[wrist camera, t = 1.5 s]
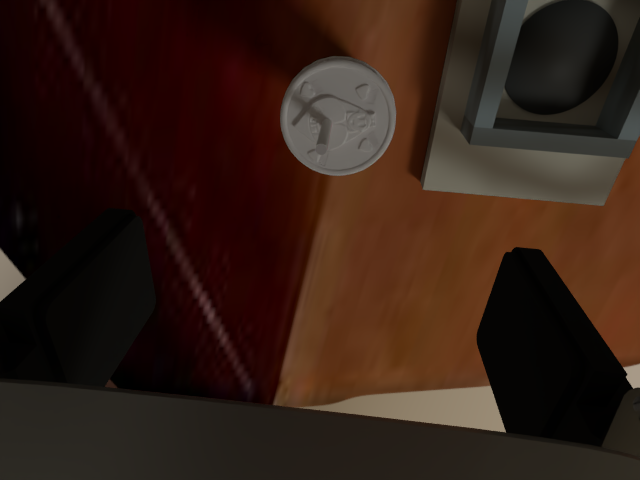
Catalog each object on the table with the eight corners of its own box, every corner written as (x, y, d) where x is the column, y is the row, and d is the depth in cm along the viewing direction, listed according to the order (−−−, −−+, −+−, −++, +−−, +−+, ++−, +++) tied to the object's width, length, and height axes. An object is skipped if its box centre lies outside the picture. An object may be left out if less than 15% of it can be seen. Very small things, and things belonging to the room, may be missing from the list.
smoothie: (294, 42, 30) (251, 81, 18) (385, 33, 29) (404, 66, 17) (305, 132, 33) (275, 214, 21) (387, 125, 32) (405, 207, 20)
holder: (485, -142, 24) (509, -166, 20) (737, -126, 24) (811, -147, 20) (420, 181, 34) (428, 206, 31) (594, 197, 34) (624, 224, 30)
